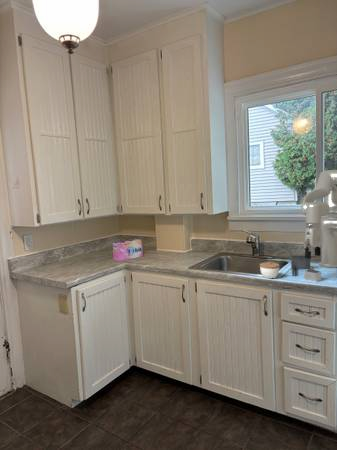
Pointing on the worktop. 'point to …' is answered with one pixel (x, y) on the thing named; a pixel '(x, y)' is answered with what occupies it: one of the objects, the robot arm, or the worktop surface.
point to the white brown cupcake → (269, 269)
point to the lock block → (312, 275)
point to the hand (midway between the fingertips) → (312, 256)
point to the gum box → (127, 249)
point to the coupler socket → (299, 263)
